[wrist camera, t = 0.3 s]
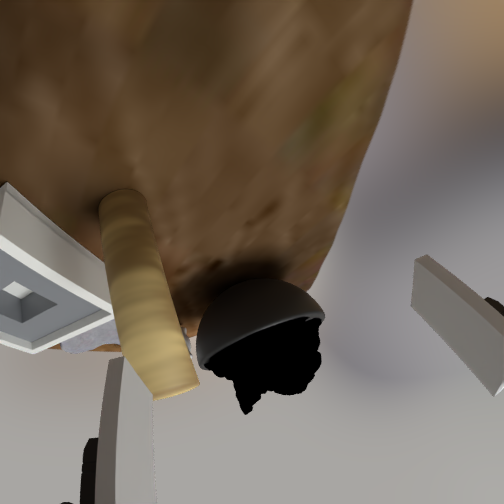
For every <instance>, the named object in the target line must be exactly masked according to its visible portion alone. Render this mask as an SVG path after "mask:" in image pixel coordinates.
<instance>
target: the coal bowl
mask: <svg viewBox="0 0 504 504" xmlns="http://www.w3.org/2000/svg"><path fill="white" fill-rule="evenodd" d="M324 319H325V314H324V312H323V310H322V308H321V307H320V306H319V304H318V303H317V302H316V301H315V300H314V299H313V298H312V297H311V296H310V295H309V294H308V293H306V292H305V291H304V290H302V289H300V288H299V287H297V286H295V285H293V284H291V283H288V282H285V281H282V280H277V279H268V278H261V279H252V280H248V281H244V282H241V283H238V284H236V285H234V286H232V287H230V288H228V289H227V290H225V291H224V292H222V293H221V294H220V295H219V296H218V297H217V298H216V299H215V300H214V301H213V302H212V303H211V304H210V306H209V307H208V309H207V310H206V312H205V313H204V315H203V317H202V319H201V322H200V325H199V328H198V332H197V339H196V352H197V360H198V364H199V366H200V368H201V369H204V370H212V371H213V373H214V374H215V375H216V376H218V377H225V378H226V379H227V380H232V381H233V383H234V388H235V391H236V397H237V399H238V401H239V404H240V408H241V410H242V411H243V413H244V414H245V415H246V414H248V413H249V412H251V411H252V409H253V407H252V406H253V405H254V404H255V403H256V402H257V401H258V400H260V399H261V394H265V393H266V392H267V391H274V392H275V393H278V394H282V395H294V394H299V393H302V392H303V391H305V390H306V388H307V385H308V383H310V382H311V380H312V379H313V378H314V376H315V375H314V373H315V372H316V371H317V370H318V369H319V367H320V365H321V354H320V352H318V351H317V350H318V347H319V345H320V338H319V332H318V331H319V326H320V325H321V323H322V322H323V320H324Z"/></svg>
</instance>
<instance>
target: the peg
mask: <svg viewBox="0 0 504 504" xmlns="http://www.w3.org/2000/svg"><path fill="white" fill-rule="evenodd" d="M99 221H100V231H101V240H102V248H103V255H104V262H105V269H106V275H107V282H108V287H109V293H110V299H111V304H112V309H113V314H114V319H115V324H116V328H117V333H118V337H119V341H120V346H121V350H122V354H123V356H125V357H126V359H127V360H128V362H129V363H130V365H131V366H132V367H133V369H134V370H135V372H136V373H137V374H138V376H139V377H140V379H141V380H142V381H143V383H144V384H145V385H146V387H147V388H148V389H149V391H150V392H151V393H152V394H153V401H154V400H159V399H164V398H168V397H172V396H175V395H179V394H181V393H184V392H187V391H189V390H192V389H194V388H196V387H197V386H199V385H200V382H199V380H198V377H197V374H196V371H195V369H194V366H193V363H192V360H191V357H190V354H189V351H188V348H187V345H186V342H185V339H184V336H183V333H182V330H181V327H180V324H179V321H178V318H177V315H176V311H175V308H174V305H173V301H172V298H171V295H170V291H169V288H168V284H167V281H166V277H165V274H164V270H163V267H162V263H161V259H160V256H159V252H158V248H157V244H156V240H155V236H154V232H153V228H152V224H151V220H150V216H149V212H148V207H147V203H146V199H145V197H144V196H143V195H142V194H141V193H139V192H137V191H135V190H130V189H122V190H117V191H114V192H112V193H110V194H108V195H107V196H105V197H104V198H103V199H102V201H101V202H100V204H99Z"/></svg>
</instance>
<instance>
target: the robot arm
mask: <svg viewBox="0 0 504 504" xmlns="http://www.w3.org/2000/svg"><path fill="white" fill-rule="evenodd" d="M411 307H412V308H413V309H414V310H415V311H416V312H417V313H418V314H419V315H420V316H421V317H422V318H423V319H424V320H425V321H426V322H427V323H428V324H429V325H430V326H431V327H432V328H433V330H434V331H435V332H436V333H437V334H438V335H439V336H440V337H441V338H442V339H443V340H444V341H445V342H446V343H447V344H448V346H449V347H450V348H451V349H452V350H453V351H454V352H455V353H456V354H457V355H458V356H459V358H460V359H461V360H462V361H463V362H464V363H465V364H466V365H467V366H468V368H470V370H471V371H472V372H473V373H474V374H475V375H476V377H477V378H478V379H479V380H480V381H481V382H482V384H483V385H484V386H485V387H486V388H487V389H488V391H489V392H490V393H491V394H492V396H495V395H497V394H498V393H499V392H500V391H501V390H503V388H504V306H503V305H502V304H500V303H499V302H498V301H496V300H494V299H491V298H489V297H487V298H485V299H483V298H482V297H480V296H479V295H478V294H477V293H476V292H474V291H473V290H472V289H471V288H469V287H468V286H467V285H466V284H464V283H463V282H462V281H461V280H459V279H458V278H457V277H456V276H454V275H453V274H452V273H451V272H449V271H448V270H447V269H445V268H444V267H443V266H441V265H440V264H439V263H437V262H436V261H435V260H434V259H432V258H431V257H430V256H428V255H424V256H422V257H420V258H417V259H415V262H414V279H413V289H412V299H411ZM154 470H155V469H154V449H153V394H152V393H151V392H150V391H149V389H148V388H147V387H146V385H145V384H144V383H143V381H142V380H141V379H140V377H139V376H138V374H137V373H136V372H135V370H134V369H133V367H132V366H131V365H130V363H129V362H128V360H127V359H126V357H125V356H123V357H119V358H115V359H111V360H109V364H108V370H107V377H106V383H105V389H104V396H103V403H102V411H101V419H100V428H99V438H90V439H89V440H88V442H87V444H86V446H85V448H84V453H83V464H82V474H81V489H80V504H157V498H156V485H155V471H154ZM61 504H72V503H70V502H63V503H61Z"/></svg>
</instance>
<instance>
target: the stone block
mask: <svg viewBox="0 0 504 504" xmlns="http://www.w3.org/2000/svg"><path fill="white" fill-rule="evenodd" d="M112 343H115V344H119V345H120V341H119V337H118V333H117V328H116V324H115V319H113V320H110V321H108V322H106V323H104V324H101V325H99V326H97V327H95V328H92V329H90V330H88V331H86V332H83V333H81V334H79V335H77V336H74V337H72V338H70V339H67V340H65V341H63V342H61V343H60V346H61V349H62V350H64V351H66V352H69V353H81V352H85V351H88V350H93V349H94V348H96V347H98V346H100V345H102V344H112Z"/></svg>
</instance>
